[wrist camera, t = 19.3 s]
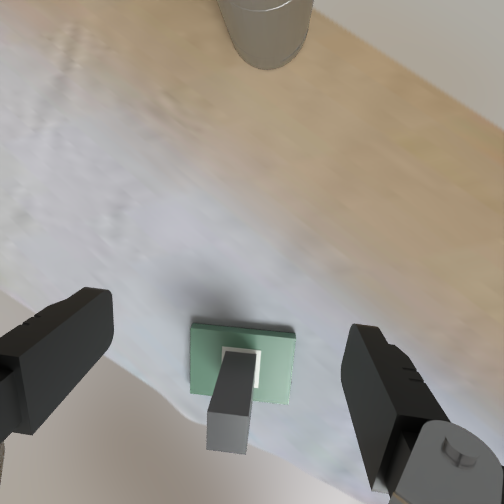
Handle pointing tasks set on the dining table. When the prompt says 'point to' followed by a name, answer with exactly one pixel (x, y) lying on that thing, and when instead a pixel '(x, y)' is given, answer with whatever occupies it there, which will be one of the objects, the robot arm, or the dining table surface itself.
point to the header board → (245, 341)
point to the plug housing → (232, 404)
